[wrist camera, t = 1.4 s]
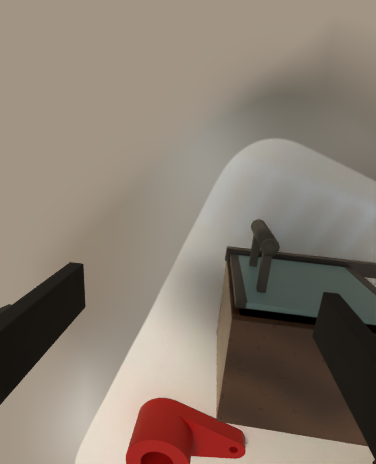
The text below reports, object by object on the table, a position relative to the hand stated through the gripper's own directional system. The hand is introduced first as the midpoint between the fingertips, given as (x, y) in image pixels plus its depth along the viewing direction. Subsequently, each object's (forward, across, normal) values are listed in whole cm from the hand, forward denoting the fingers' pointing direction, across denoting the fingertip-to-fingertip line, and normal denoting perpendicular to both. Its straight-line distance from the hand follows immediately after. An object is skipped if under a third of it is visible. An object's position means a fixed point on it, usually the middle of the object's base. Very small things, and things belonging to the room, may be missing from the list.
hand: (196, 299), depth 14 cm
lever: (+21, 0, -36) cm, 42 cm away
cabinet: (+20, +15, -11) cm, 27 cm away
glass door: (+19, +11, -2) cm, 22 cm away
